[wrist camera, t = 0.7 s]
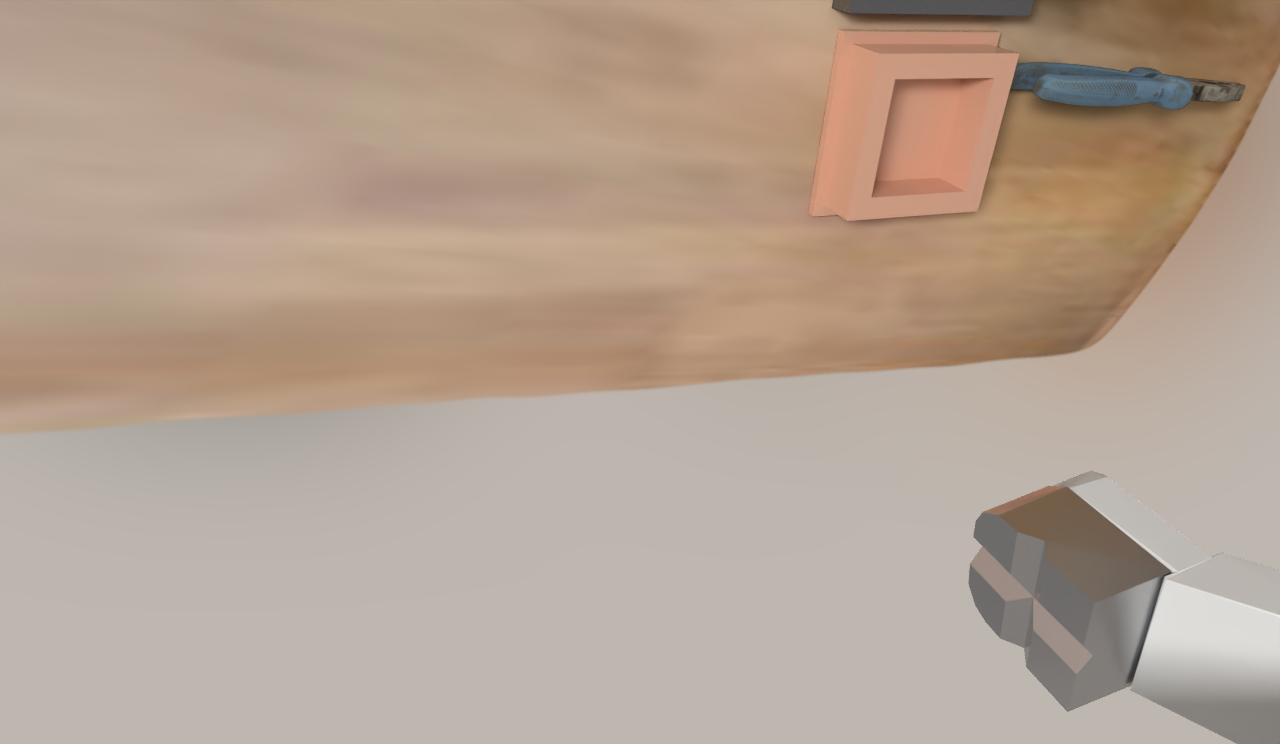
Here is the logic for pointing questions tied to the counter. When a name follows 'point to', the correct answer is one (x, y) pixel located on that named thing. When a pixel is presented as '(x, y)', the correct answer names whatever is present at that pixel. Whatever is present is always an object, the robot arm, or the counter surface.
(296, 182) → the counter surface
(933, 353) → the counter surface
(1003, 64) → the terracotta holder
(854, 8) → the cup socket
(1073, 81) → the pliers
